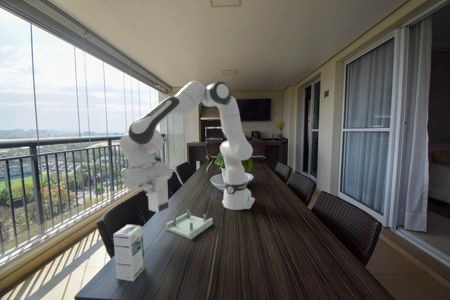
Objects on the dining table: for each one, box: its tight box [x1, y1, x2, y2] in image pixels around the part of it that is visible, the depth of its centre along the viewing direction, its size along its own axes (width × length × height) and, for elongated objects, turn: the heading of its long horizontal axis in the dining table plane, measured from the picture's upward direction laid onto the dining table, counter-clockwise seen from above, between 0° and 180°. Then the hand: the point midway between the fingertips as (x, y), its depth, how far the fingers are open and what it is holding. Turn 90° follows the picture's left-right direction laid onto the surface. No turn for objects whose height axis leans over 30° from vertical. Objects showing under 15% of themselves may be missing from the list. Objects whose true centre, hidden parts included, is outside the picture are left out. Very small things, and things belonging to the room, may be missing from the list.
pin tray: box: [165, 209, 214, 240], centre depth 86 cm, size 15×15×5 cm
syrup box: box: [113, 224, 146, 282], centre depth 57 cm, size 6×6×14 cm
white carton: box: [147, 174, 169, 213], centre depth 76 cm, size 5×6×14 cm
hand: (158, 190), depth 75 cm, fingers closed on white carton, 5 cm apart
